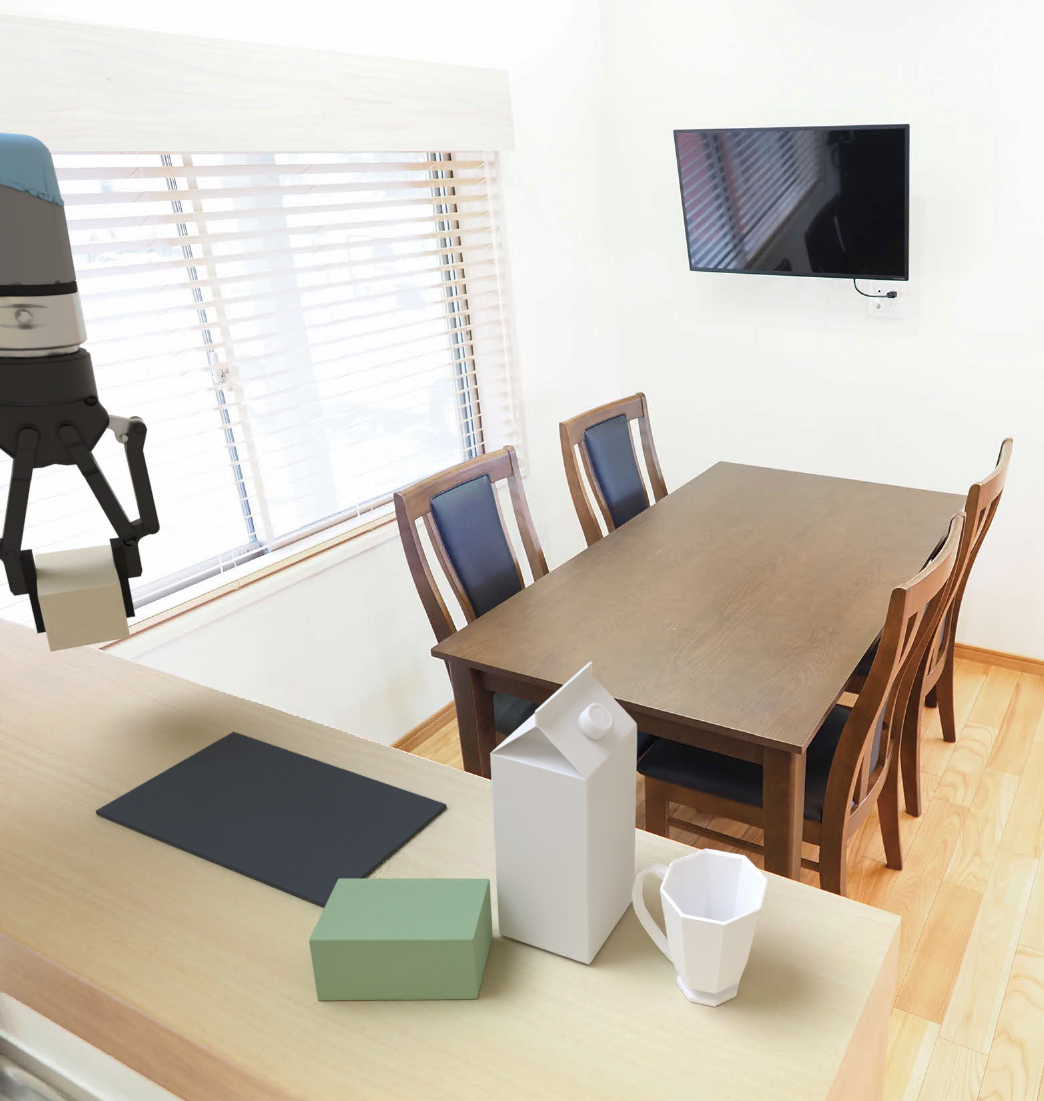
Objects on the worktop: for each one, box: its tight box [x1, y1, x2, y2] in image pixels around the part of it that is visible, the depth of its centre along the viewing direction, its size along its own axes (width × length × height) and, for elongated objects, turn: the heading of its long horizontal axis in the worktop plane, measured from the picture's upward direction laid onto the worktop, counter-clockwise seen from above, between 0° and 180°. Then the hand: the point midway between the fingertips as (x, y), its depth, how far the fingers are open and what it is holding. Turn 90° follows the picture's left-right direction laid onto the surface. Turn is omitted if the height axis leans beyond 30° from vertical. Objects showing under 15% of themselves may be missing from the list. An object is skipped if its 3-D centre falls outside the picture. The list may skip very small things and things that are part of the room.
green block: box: [308, 878, 494, 1001], centre depth 61 cm, size 10×6×5 cm, turn 93°
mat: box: [95, 731, 448, 909], centre depth 76 cm, size 24×13×1 cm, turn 67°
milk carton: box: [489, 661, 638, 965], centre depth 63 cm, size 7×7×19 cm
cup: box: [632, 848, 769, 1008], centre depth 62 cm, size 7×10×8 cm
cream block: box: [34, 544, 131, 652], centre depth 80 cm, size 10×6×5 cm, turn 36°
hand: (86, 618), depth 81 cm, fingers closed on cream block, 5 cm apart
